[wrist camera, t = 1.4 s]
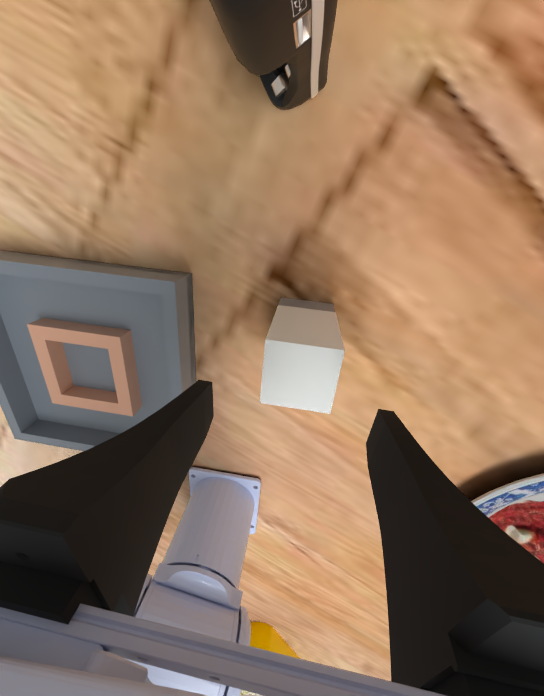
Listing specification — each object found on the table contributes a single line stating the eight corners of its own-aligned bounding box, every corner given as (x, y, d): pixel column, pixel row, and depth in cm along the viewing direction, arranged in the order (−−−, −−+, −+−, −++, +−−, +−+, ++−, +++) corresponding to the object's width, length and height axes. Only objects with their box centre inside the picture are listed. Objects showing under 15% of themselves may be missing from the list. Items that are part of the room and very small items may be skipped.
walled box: (198, 446, 29) (186, 469, 27) (40, 419, 31) (14, 438, 28) (192, 273, 21) (174, 282, 19) (-21, 247, 23) (-65, 252, 20)
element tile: (233, 660, 54) (226, 699, 50) (192, 622, 49) (181, 661, 45) (304, 660, 50) (303, 701, 46) (267, 617, 45) (262, 660, 40)
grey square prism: (324, 350, 23) (330, 413, 16) (275, 344, 23) (259, 402, 16) (333, 303, 21) (344, 350, 14) (281, 297, 21) (265, 339, 14)
